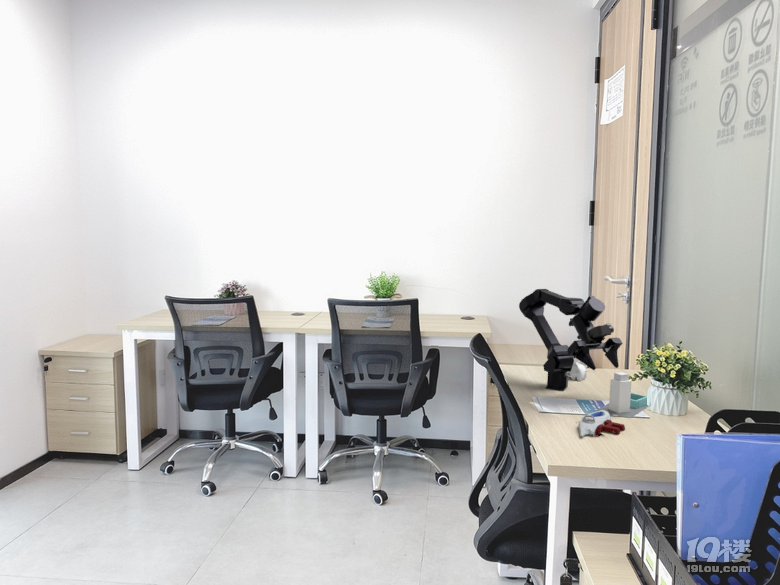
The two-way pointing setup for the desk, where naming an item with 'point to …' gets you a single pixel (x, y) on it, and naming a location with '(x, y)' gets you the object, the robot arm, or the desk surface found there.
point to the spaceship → (592, 422)
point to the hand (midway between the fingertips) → (606, 368)
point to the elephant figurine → (578, 371)
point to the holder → (637, 400)
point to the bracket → (609, 428)
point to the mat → (626, 414)
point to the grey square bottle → (620, 393)
